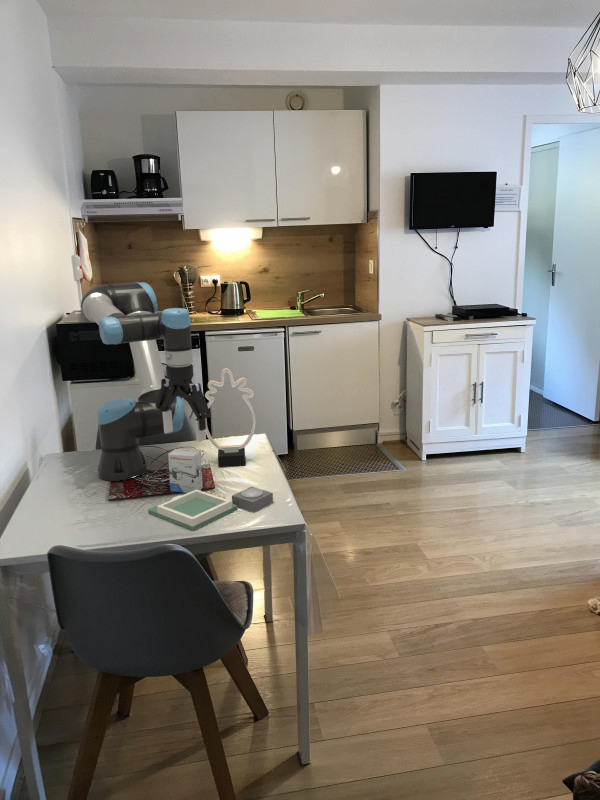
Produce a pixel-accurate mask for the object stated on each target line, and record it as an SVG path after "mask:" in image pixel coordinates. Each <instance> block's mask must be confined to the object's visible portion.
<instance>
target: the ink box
mask: <svg viewBox="0 0 600 800" xmlns="http://www.w3.org/2000/svg"><path fill="white" fill-rule="evenodd" d="M201 453H202V451H200V450H199V449H198V450H197V449H185V448H175V449H173V450H171V451H170V452H169V453H168V454H167V455H168V459H167V460H168V473H169V487H170V489H169V490H170V492H175V493H183V494H186V493H188V492H191V491H194V490H196V489H197V490H200V491H202V490H203V489H202V488H204V487H203V468H202V454H201ZM201 489H202V490H201Z"/></svg>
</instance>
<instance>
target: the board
mask: <svg viewBox="0 0 600 800" xmlns="http://www.w3.org/2000/svg"><path fill="white" fill-rule="evenodd" d="M237 510H238V507H237V505H234V504H232V500H229V499H227V498H226V495H222V497H221V494H220V493H218V494H216V492H212V494H211V491H210V490H208V491H207V492H206V491H202V490H197V489H196V490H194V491H191V492H188V493H183V494H182V495H181V494H180V495H179V494H178V495H176V496H174V497H172V498H171V499H169V500H167V501H164V502H163V503H160V504H158V505H156V506H152V507H151V508H148V509H147V512H148V514H149V515H152V516H154V517H156V518H159V519H161V520H164V521H167V522H169V523H173V524H175V525H177V526H180V527H183V528H185V529H187V530H190V531H192V532H193V531H197V529H200V528H202V527H204V526H207V525H209V524H211V523H213V522H215V521H217V520H219V519H221V518H223V517H224V516H225V517H226V516H227V515H229V514H231V513H233V512H236V511H237ZM212 521H213V522H212ZM210 522H211V523H210ZM208 523H209V524H208ZM206 524H207V525H206Z"/></svg>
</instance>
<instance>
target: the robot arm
mask: <svg viewBox="0 0 600 800" xmlns="http://www.w3.org/2000/svg"><path fill="white" fill-rule="evenodd" d="M80 301H81V302H80V309H81V310H80V311H82V314H83V315H84V317H85V318H86V319H87V320H89V321H90V322H93V323H96V324H97V325H98V330H99V336H100V339H101V341H102V343H103V344H105V345H119V344H127V343H129V347H130V350H131V355H132V359H133V364H134V367H135V372H136V376H137V381H138V384H139V385H138V386H139V389H140V393H139V395H138V397H137V401H136V399H134V398H132V397H122V398H121V397H120V398H116V399H112V400H110V401H109V400H108V401H107V402H104V403H103V404H101V405H100V406H99V407H98V409H97V424H98V430H99V440H100V449H101V454H100V458H99V463H98V466H97V473H98V478H100V479H102V480H103V481H108V482H121V481H120V480H123V481H127V480H126V479H129V480H131V479H130V478H131V477H132V476H136V475H141V474H143V473H145V472H146V471H147V472H148V464H147V460H146V459H145V456H144V454H143V452H142V450H141V447H140V439H144V438H150V437H157V436H163V435H170V434H172V433H178V432H179V431H180V430H181V429H182V428H183V425H184V419H185V408H184V402H183V400H184V401H186V402H187V404H188V405H189V407H190V409H191V410H192V413H194V416H195V417H196V419H194V421H195V422H194V423H195V435H196V436H195V437H196V443H200V442H203V441H205V440H206V432H205V429H206V421H205V419H206V418H211V416H212V414H211V411H210V408H208V406H207V404H208V402H207V401H206V399H205V398H206V397H205V395H204V393H203V391H202V386H201V385H202V384H201V383H200V382H198V383H193V382H192V381H193V380H192V379H193V378H194V375H195V374H194V365H193V361H194V360H193V357H194V356H193V349H192V348H193V346H192V331H191V328H192V327H191V324H192V323H191V321H192V320H191V317H190V312H189V310H188V309H187V308H181V307H173V308H166V309H163V310H159V311H158V303H157V302H158V301H157V297H156V294H155V292H154V289H153V287H152V286H151V284H148V283H147V282H137V281H134V282H126V283H123V282H122V283H110V284H109V283H108V284H106V283H105V284H100V285H96V286H94V287H92V288H90V289H89V290H88V291H86V292H85V293H84V295H83V297H82V298H81V300H80ZM157 340H163V347H164V349H163V350H164V357H165V358H164V360H165V364H166V366H165V371H164V368H163V363H162V359H161V355H160V352H159V348H158V344H157ZM165 375H166V376H165ZM205 413H206V414H205ZM147 472H146V473H147ZM146 473H145V474H146ZM143 475H144V474H143Z"/></svg>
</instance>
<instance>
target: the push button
mask: <svg viewBox="0 0 600 800" xmlns="http://www.w3.org/2000/svg"><path fill="white" fill-rule="evenodd" d="M273 497H274V493H273V492H272V491H268V490H264V489H261V488H258V487H255V486H250V487H248V488H245V489H243V490H240V491H238V492H236V493H234V494H233V495H231V501H232V504H234V505H237V509H238V508H239V509H242V510H245V511H247V512H250V513H253V514H254V513H255V512H258V511H260V510H262V509H264V508H266V507H268V506H270V505H272V504H274V498H273Z"/></svg>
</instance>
